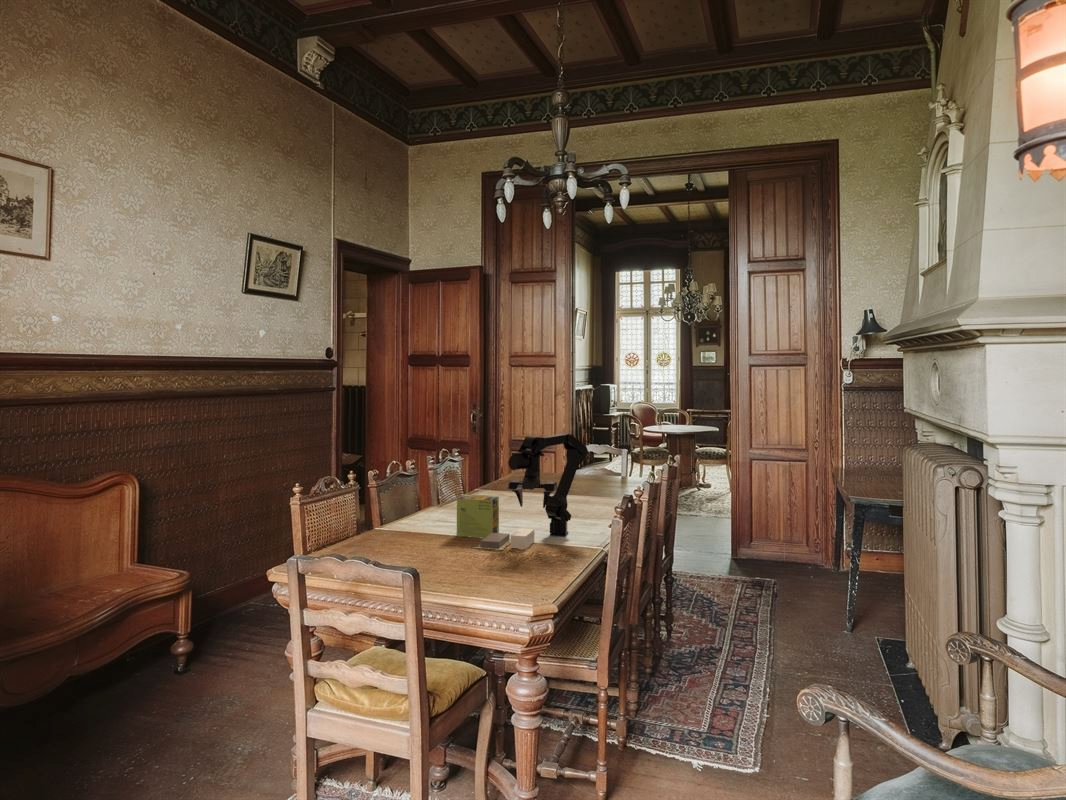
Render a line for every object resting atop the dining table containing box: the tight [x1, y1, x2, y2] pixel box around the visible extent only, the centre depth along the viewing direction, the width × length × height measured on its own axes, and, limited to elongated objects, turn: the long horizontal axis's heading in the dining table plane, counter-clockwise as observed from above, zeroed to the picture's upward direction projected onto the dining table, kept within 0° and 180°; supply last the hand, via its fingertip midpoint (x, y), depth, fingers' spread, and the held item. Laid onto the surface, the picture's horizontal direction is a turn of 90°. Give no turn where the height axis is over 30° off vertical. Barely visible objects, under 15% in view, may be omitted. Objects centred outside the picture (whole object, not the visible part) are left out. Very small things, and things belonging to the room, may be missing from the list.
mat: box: [474, 538, 511, 551], centre depth 257 cm, size 11×16×1 cm
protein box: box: [456, 494, 500, 538], centre depth 274 cm, size 10×15×16 cm
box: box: [510, 527, 535, 550], centre depth 256 cm, size 6×12×5 cm, turn 165°
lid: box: [479, 532, 511, 549], centre depth 257 cm, size 7×13×2 cm, turn 165°
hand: (532, 507), depth 264 cm, fingers open, 9 cm apart
